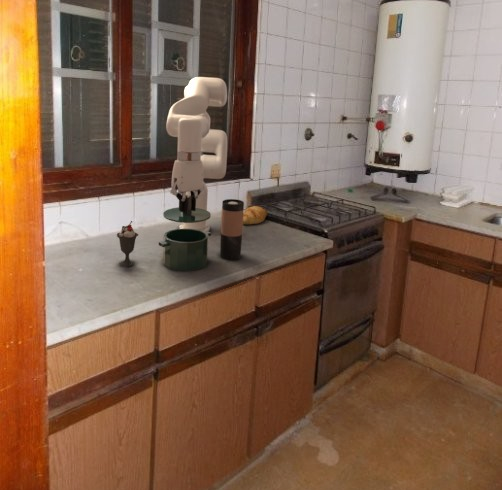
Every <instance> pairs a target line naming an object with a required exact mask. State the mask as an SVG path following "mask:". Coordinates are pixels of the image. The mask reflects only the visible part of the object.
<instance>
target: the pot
mask: <svg viewBox="0 0 502 490" xmlns="http://www.w3.org/2000/svg"><path fill="white" fill-rule="evenodd" d="M211 236H212V232H210V231H206V232H203V231H201V230H196V229H186V228H184V229H179V228H175V229H171V230H168V231H166V232H165V233H164V234H163V239H162V240H163V241H159V242H158V247H161V248H162V263H163V265H164V266H165V267H166V268H168V269H170V270H174V271H179V272H191V271H196V270H200V269H203V268H205V267H206V266H207V264H208V257H209V256H208V254H209V237H211Z"/></svg>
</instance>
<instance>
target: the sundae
mask: <svg viewBox="0 0 502 490" xmlns="http://www.w3.org/2000/svg"><path fill="white" fill-rule="evenodd" d="M132 224H133V221H132V220H130V222H129V224H128V225H122V226H121V230H120V232H117V233H116V237H117V238H118V239H119V248H120V251H121V253H123V254H124V256H125V257H124V260H122V261H120V262H119V264H118V265H120V266H121V267H125V268H127V267H133V266H134V265H135V264H136V262H135V261H134V260H131V258H130V254H131V253H133V251H134V250H135V245H136V239H137V237H138V236H139V233H137V232H135V231H134V228H133V226H132Z"/></svg>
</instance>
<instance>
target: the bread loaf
mask: <svg viewBox="0 0 502 490" xmlns="http://www.w3.org/2000/svg"><path fill="white" fill-rule="evenodd" d="M267 215H268V211H267V209H264V208H263V207H261V206H258V205H253V206H249V207H247V208H246V209H245V210H244V211H243V225H255V224H256V225H257V224H261V223H263V222H264V221H265V220H266V217H267Z"/></svg>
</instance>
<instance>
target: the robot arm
mask: <svg viewBox="0 0 502 490" xmlns="http://www.w3.org/2000/svg"><path fill="white" fill-rule="evenodd" d="M227 100H228V87H227V84H226V81H224V80H223V79H222V78H220V77H207V76H196V77H193V78H191V79H190V80H189V82H188V85H186V86H185V87H184V91H183V98H182V99H179V100H178V101H177V102H175V103H173V104H172V106H171V107H169V108H170V109H169V111H168V115H167V119H166V124H165V128H166V132H167V134H168V135H169V136H170V137H173V138H174V137H175V138H177V157H176V160H174V163H173V167H172V172H171V173H172V174H171V189H170V191H169V193H170V194H171V195H173V196H174V197H176V198H177V200H178V207H179V211H181V212H183V213H186V208H187V201H185V198H186V195H191V196H192V211H195V210H196V208H200V209H204V210H206V211H208V194H209V193H208V192H209V189H208V186H207V184H206V182H205V181H204V179H212V180H213V179H215V180H220V179H221V180H222V179H223V178H224V177H225V176H226V173H227V164H228V163H227V162H228V161H227V160H228V135H227V133H226V132H225V131H224V130H222V129H214V128H213V129H212V128H211V116H210V114H209V113H208V112H207V109H208V107H218V108H221V107H224V106H225V105H226V103H227ZM204 153H213V154H204ZM178 226H179V227H178V229H184V228H186V229H196V230H201V231H203V232H206V231H208V232H210V229H211V227H210V225H208V224H207V220H205V221H202V222H196V223H181V224H180V225H178Z"/></svg>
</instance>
